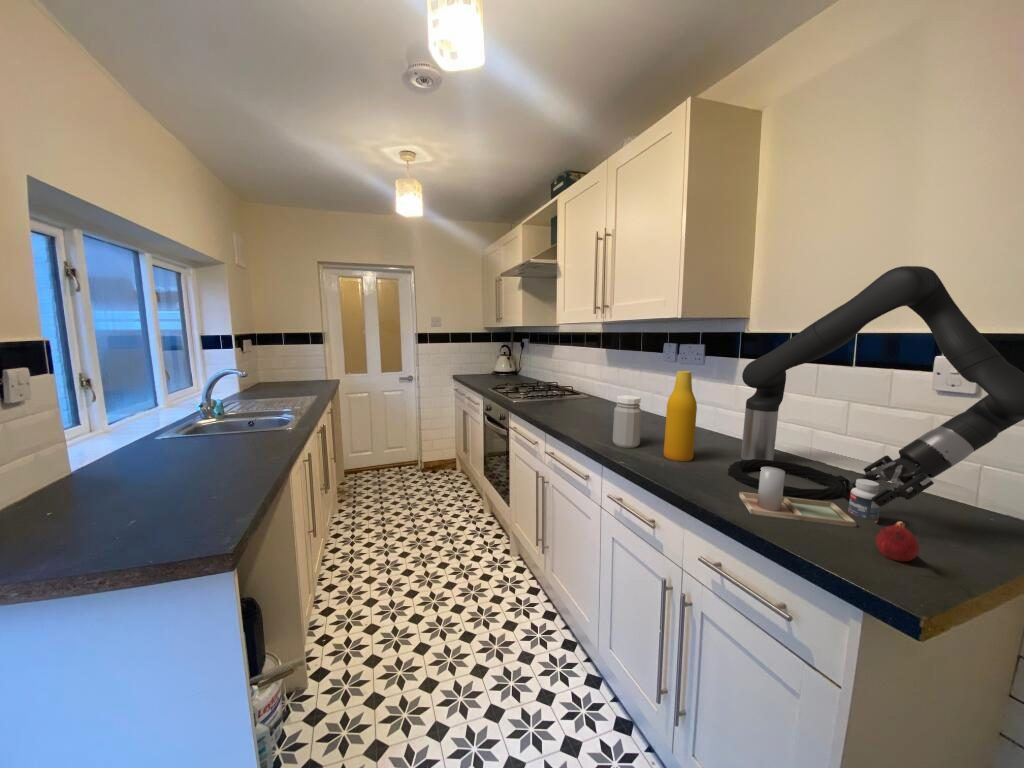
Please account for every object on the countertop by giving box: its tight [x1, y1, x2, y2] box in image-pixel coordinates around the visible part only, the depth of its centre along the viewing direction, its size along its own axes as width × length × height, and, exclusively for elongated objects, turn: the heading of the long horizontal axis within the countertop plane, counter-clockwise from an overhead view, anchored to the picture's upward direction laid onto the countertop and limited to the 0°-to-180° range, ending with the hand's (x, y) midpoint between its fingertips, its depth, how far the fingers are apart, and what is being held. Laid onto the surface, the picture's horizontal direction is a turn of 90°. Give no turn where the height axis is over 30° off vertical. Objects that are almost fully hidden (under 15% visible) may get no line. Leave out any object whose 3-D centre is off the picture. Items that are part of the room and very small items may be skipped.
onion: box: [875, 521, 920, 563], centre depth 75 cm, size 6×6×8 cm
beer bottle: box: [663, 370, 698, 463], centre depth 135 cm, size 9×9×29 cm
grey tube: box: [757, 467, 786, 511], centre depth 96 cm, size 5×5×9 cm
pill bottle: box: [847, 478, 881, 524], centre depth 93 cm, size 5×5×9 cm
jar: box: [612, 394, 643, 449], centre depth 150 cm, size 10×10×18 cm
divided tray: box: [738, 491, 858, 528], centre depth 95 cm, size 11×20×2 cm, turn 74°
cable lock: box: [727, 459, 853, 501], centre depth 114 cm, size 28×4×30 cm
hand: (864, 495), depth 93 cm, fingers open, 8 cm apart
